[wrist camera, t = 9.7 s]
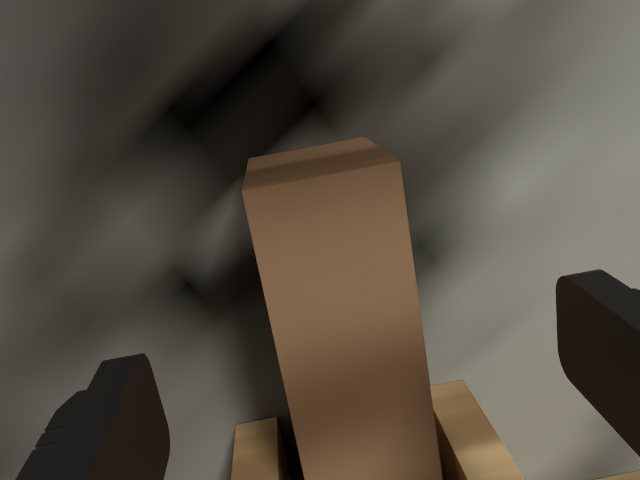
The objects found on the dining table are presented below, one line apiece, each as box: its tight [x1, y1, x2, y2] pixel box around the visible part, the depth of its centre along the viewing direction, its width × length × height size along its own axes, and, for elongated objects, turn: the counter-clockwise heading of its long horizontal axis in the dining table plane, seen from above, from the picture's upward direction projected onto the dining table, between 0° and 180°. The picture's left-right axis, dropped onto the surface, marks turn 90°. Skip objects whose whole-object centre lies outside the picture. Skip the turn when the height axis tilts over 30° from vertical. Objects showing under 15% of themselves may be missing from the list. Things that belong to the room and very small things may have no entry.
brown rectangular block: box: [242, 137, 443, 480], centre depth 19 cm, size 13×4×6 cm, turn 10°
